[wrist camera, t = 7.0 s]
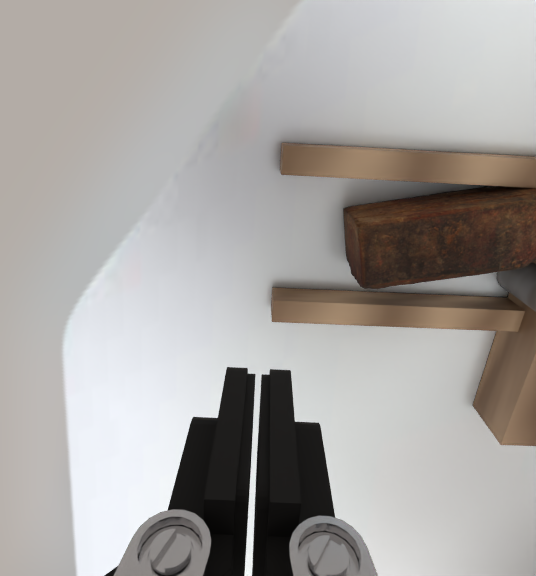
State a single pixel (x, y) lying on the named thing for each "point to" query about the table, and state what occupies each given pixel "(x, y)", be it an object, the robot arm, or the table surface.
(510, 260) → the brick
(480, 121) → the table surface
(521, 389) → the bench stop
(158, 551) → the robot arm
